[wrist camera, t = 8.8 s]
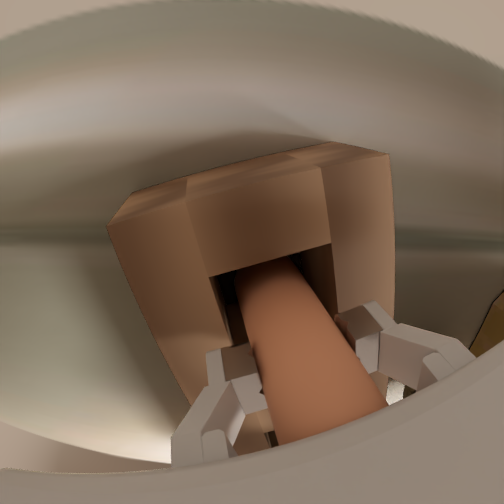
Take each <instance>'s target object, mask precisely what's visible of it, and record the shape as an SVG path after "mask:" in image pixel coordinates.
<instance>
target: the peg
mask: <svg viewBox="0 0 504 504" xmlns="http://www.w3.org/2000/svg"><path fill="white" fill-rule="evenodd" d="M234 285H235V291H236V295H237V298H238V302H239V306H240V310H241V313H242V317H243V321H244V324H245V328H246V332H247V335H248V339H249V341H250V344H251V347H252V351H253V354H254V357H255V361H256V365H257V368H258V372H259V375H260V379H261V382H262V386H263V387H262V389H263V392H264V396H265V399H266V403H267V406H268V410H269V413H270V417H271V420H272V423H273V427H274V430H275V434H276V437H277V440H278V444H279V446H280V445H284V444H287V443H291V442H294V441H297V440H300V439H304V438H307V437H310V436H313V435H316V434H319V433H322V432H325V431H327V430H330V429H333V428H336V427H338V426H341V425H344V424H346V423H349V422H351V421H354V420H356V419H359V418H361V417H364V416H366V415H369V414H371V413H373V412H376V411H378V410H380V409H383V408H385V407H387V406H389V405H388V403H387V402H386V400H385V398H384V397H383V395H382V394H381V392H380V391H379V389H378V388H377V386H376V384H375V383H374V381H373V380H372V378H371V377H370V375H369V374H368V372H367V371H366V369H365V368H364V366H363V365H362V363H361V361H360V360H359V358H358V357H357V355H356V354H355V352H354V351H353V349H352V348H351V346H350V345H349V343H348V342H347V340H346V339H345V337H344V336H343V334H342V333H341V331H340V330H339V328H338V327H337V325H336V324H335V322H334V321H333V319H332V318H331V316H330V315H329V314H328V312H327V311H326V309H325V308H324V306H323V305H322V303H321V302H320V300H319V299H318V297H317V296H316V294H315V293H314V291H313V290H312V289H311V287H310V286H309V284H308V283H307V281H306V280H305V278H304V277H303V275H302V274H301V273H300V271H299V270H298V268H297V267H296V265H295V264H294V262H293V261H292V260H291V259H290V258H289V257H288V256H283V257H279V258H276V259H272V260H269V261H265V262H262V263H258V264H254V265H251V266H247V267H244V268H240V269H238V271H237V273H236V276H235V281H234Z"/></svg>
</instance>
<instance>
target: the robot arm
mask: <svg viewBox="0 0 504 504" xmlns="http://www.w3.org/2000/svg"><path fill="white" fill-rule="evenodd" d="M334 320H335V324H336V325H337V327H338V328H339V330H340V331H341V333H342V334H343V336H344V337H345V339H346V340H347V342H348V343H349V345H350V346H351V348H352V349H353V351H354V352H355V354H356V355H357V357H358V358H359V360H360V361H361V363H362V365H363V366H364V368H365V369H366V371H367V372H368V374H369V373H372V372H374V371H377V370H378V371H379V372H381V373H383V374H385V375H387V376H389V377H391V378H393V379H395V380H397V381H399V382H401V383H403V384H405V385H407V386H409V387H411V388H413V389H415V390H416V393H414V394H412V395H410V396H408V397H406V398H404V399H402V400H400V401H398V402H396V403H393V404H391V405H389V406H387V407H385V408H383V409H380V410H378V411H376V412H373V413H371V414H369V415H366V416H364V417H361V418H359V419H356V420H354V421H351V422H349V423H346V424H344V425H341V426H338V427H336V428H333V429H330V430H327V431H325V432H322V433H319V434H316V435H313V436H310V437H307V438H304V439H300V440H297V441H294V442H291V443H287V444H284V445H280V446H277V447H273V448H269V449H266V450H262V451H258V452H254V453H250V454H245V455H241V456H238V455H237V453H236V451H235V450H234V448H233V445H234V442H235V440H236V438H237V435H238V433H239V430H240V428H241V426H242V423H243V421H244V418H245V415H246V414H250V413H253V412H257V411H260V410H263V409H266V408H268V406H267V403H266V399H265V396H264V392H263V389H262V387H263V386H262V382H261V379H260V375H259V372H258V368H257V365H256V361H255V357H254V354H253V351H252V347H251V344H250V341H247V342H243V343H239V344H235V345H231V346H227V347H223V348H221V349H216V350H212V351H207V352H206V364H207V374H208V384H209V386H206V387H204V388H203V390H202V392H201V393H200V395H199V396H198V398H197V399H196V401H195V402H194V404H193V405H192V407H191V408H190V410H189V411H188V413H187V414H186V416H185V417H184V419H183V420H182V421H181V423H180V424H179V426H178V427H177V429H176V430H175V432H174V433H173V435H172V436H171V468H166V469H157V470H147V471H135V472H120V473H55V472H40V471H28V470H20V469H13V468H3V469H0V504H504V340H503V341H501V342H500V343H498V344H497V345H495V346H494V347H493V348H491V349H490V350H488V351H487V352H485V353H484V354H482V355H480V356H479V357H477V358H476V357H475V356H474V355H473V354H472V353H471V352H470V351H469V350H468V349H467V348H466V347H465V346H464V345H463V344H462V343H461V342H460V341H459V340H458V339H456V338H453V337H449V336H445V335H442V334H438V333H435V332H431V331H427V330H424V329H420V328H417V327H413V326H410V325H406V324H403V323H400V324H397V323H396V322H395V321H394V320H393V319H392V318H391V317H390V316H389V315H388V314H387V312H386V311H385V310H384V309H383V308H382V307H381V306H380V305H379V304H378V303H377V302H376V301H374V300H372V301H369V302H367V303H364V304H362V305H360V306H357V307H354V308H352V309H349V310H346V311H343V312H340V313H338V314H335V317H334Z"/></svg>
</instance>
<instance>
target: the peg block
mask: <svg viewBox="0 0 504 504" xmlns="http://www.w3.org/2000/svg"><path fill="white" fill-rule="evenodd" d="M106 228H107V231H108V233H109V236H110V239H111V241H112V244H113V246H114V249H115V251H116V254H117V256H118V259H119V261H120V264H121V266H122V269H123V271H124V273H125V276H126V278H127V280H128V283H129V285H130V287H131V290H132V292H133V294H134V296H135V298H136V301H137V303H138V305H139V307H140V309H141V312H142V314H143V316H144V318H145V320H146V322H147V324H148V326H149V328H150V330H151V332H152V335H153V337H154V339H155V341H156V343H157V345H158V346H159V348H160V350H161V352H162V354H163V356H164V358H165V360H166V362H167V364H168V366H169V368H170V369H171V371H172V373H173V375H174V377H175V379H176V380H177V382H178V384H179V386H180V388H181V389H182V391H183V393H184V395H185V396H186V398H187V400H188V402H189V403H190V405H191V407H192V405H193V404H194V402H195V401H196V399H197V398H198V396H199V395H200V393H201V392H202V390H203V388H204V387H206V386H209V384H208V374H207V364H206V352H207V351H212V350H216V349H221V348H223V347H227V346H231V345H235V344H239V343H243V342H247V341H249V339H248V335H247V332H246V328H245V324H244V321H243V317H242V313H241V310H240V306H239V302H235V303H232V304H228V305H226V303H225V300H224V297H223V294H222V290H221V287H220V284H219V281H218V278H217V275H219V274H222V273H226V272H229V271H233V270H237V269H240V268H244V267H247V266H251V265H254V264H258V263H262V262H265V261H269V260H272V259H276V258H279V257H283V256H286V255H290V254H294V253H297V252H300V257H301V264H302V270H303V276H304V278H305V280H306V281H307V283H308V284H309V286H310V287H311V289H312V290H313V291H314V293H315V294H316V296H317V297H318V299H319V300H320V302H321V303H322V305H323V306H324V308H325V309H326V311H327V312H328V314H329V315H330V316H331V318H332V319H333V321H334V322H335V320H334V317H335V314H338V313H340V312H343V311H346V310H349V309H352V308H354V307H357V306H360V305H362V304H364V303H367V302H369V301H372V300H374V301H376V302H377V303H378V304H379V305H380V306H381V307H382V308H383V309H384V310H385V311H386V312H387V314H388V315H389V316H390V317H391V318H392V319H394V297H395V230H394V207H393V192H392V179H391V168H390V158H389V154H386V153H382V152H378V151H374V150H370V149H365V148H361V147H356V146H352V145H347V144H342V143H337V142H329V143H324V144H319V145H314V146H309V147H304V148H299V149H294V150H289V151H285V152H280V153H275V154H271V155H267V156H262V157H258V158H254V159H250V160H245V161H241V162H237V163H233V164H229V165H225V166H222V167H218V168H214V169H210V170H207V171H203V172H199V173H196V174H192V175H189V176H185V177H182V178H178V179H175V180H171V181H168V182H165V183H161V184H158V185H155V186H152V187H148V188H145V189H142V190H139V191H136V192H133V193H132V194H131V195H130V196H129V197H128V199H127V200H126V201H125V202H124V204H123V205H122V206H121V207H120V209H119V210H118V211H117V213H116V214H115V215H114V216H113V218H112V219H111V220H110V222H109V223H108V224H107V226H106ZM369 375H370V377H371V378H372V380H373V381H374V383H375V384H376V386H377V388H378V389H379V391H380V392H381V394H382V395H383V397H384V398H385V400H386V393H387V386H388V377H389V376H387V375H385V374H383V373H381V372H379V371H378V370H377V371H374V372H372V373H369ZM277 446H279V444H278V440H277V437H276V434H275V430H274V427H273V423H272V420H271V417H270V413H269V410H268V408H266V409H263V410H260V411H257V412H253V413H250V414H246V415H245V418H244V421H243V423H242V426H241V428H240V430H239V433H238V435H237V438H236V440H235V442H234V445H233V448H234V450H235V451H236V453H237V455H238V456H241V455H245V454H250V453H254V452H258V451H262V450H266V449H269V448H273V447H277Z"/></svg>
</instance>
